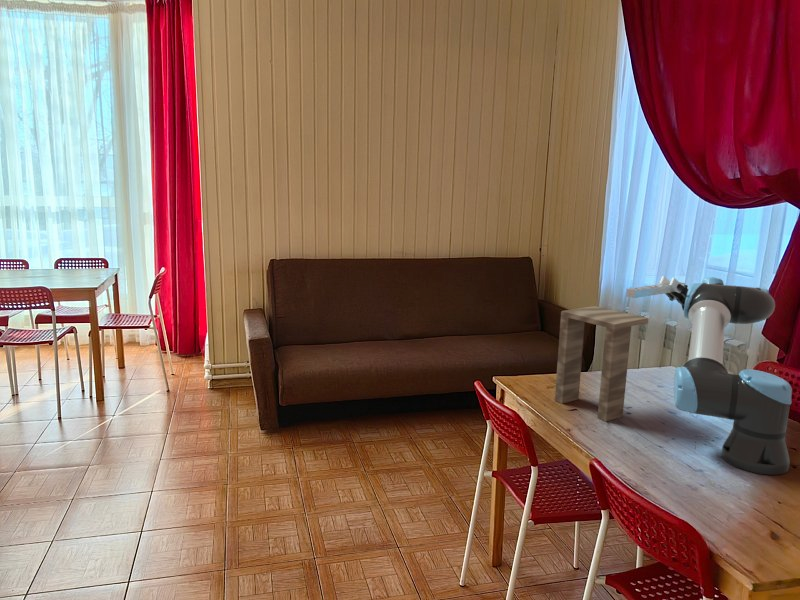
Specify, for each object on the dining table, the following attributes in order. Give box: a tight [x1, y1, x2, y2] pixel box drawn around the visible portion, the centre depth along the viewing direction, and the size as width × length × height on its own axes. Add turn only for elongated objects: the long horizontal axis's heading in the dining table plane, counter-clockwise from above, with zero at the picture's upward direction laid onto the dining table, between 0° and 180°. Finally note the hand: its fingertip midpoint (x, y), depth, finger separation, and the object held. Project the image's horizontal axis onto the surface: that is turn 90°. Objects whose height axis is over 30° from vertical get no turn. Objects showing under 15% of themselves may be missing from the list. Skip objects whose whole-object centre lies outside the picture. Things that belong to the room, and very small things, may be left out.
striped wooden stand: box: [554, 305, 649, 422], centre depth 189 cm, size 20×16×30 cm
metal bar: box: [625, 281, 686, 299], centre depth 199 cm, size 3×28×2 cm, turn 124°
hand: (666, 280), depth 201 cm, fingers closed on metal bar, 3 cm apart
